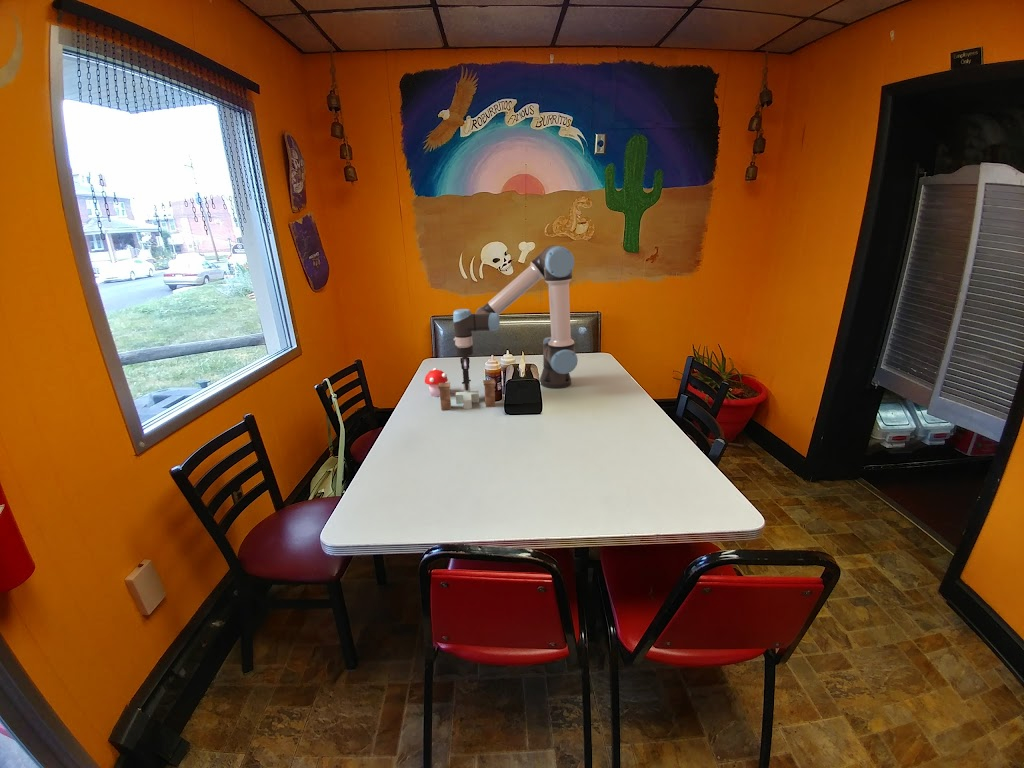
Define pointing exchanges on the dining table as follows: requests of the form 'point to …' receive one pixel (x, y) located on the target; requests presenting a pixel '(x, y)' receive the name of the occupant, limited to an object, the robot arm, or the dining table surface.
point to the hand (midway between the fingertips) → (467, 396)
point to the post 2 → (489, 393)
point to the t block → (467, 398)
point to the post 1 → (445, 396)
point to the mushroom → (435, 381)
